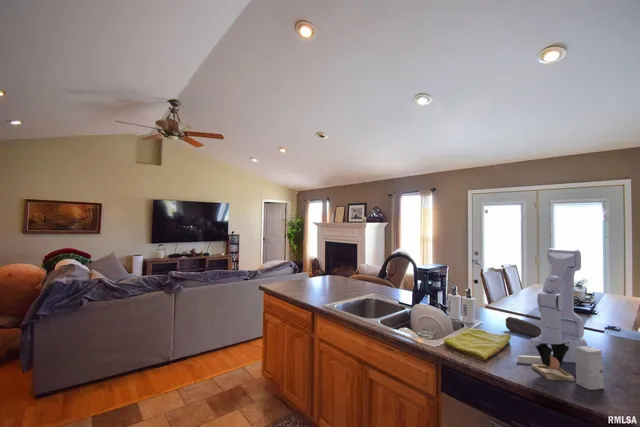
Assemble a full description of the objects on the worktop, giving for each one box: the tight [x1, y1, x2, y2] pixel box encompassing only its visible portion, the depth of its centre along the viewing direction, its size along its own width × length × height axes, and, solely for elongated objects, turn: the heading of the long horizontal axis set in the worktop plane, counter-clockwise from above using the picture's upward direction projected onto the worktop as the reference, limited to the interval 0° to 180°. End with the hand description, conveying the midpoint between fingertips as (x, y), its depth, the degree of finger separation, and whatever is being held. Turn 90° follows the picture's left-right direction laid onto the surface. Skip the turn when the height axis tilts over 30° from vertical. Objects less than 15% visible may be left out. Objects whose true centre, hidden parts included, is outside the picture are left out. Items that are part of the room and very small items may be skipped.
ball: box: [547, 355, 560, 370], centre depth 103 cm, size 4×4×4 cm
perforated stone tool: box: [505, 316, 541, 338], centre depth 142 cm, size 15×5×7 cm, turn 36°
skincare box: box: [575, 345, 604, 391], centre depth 95 cm, size 6×4×12 cm
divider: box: [516, 354, 544, 365], centre depth 111 cm, size 14×1×2 cm, turn 84°
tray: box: [531, 364, 576, 382], centre depth 103 cm, size 9×9×1 cm
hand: (551, 364), depth 103 cm, fingers closed on ball, 4 cm apart
